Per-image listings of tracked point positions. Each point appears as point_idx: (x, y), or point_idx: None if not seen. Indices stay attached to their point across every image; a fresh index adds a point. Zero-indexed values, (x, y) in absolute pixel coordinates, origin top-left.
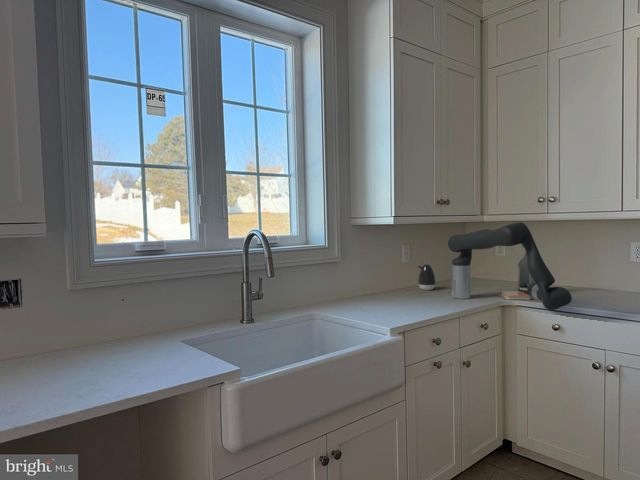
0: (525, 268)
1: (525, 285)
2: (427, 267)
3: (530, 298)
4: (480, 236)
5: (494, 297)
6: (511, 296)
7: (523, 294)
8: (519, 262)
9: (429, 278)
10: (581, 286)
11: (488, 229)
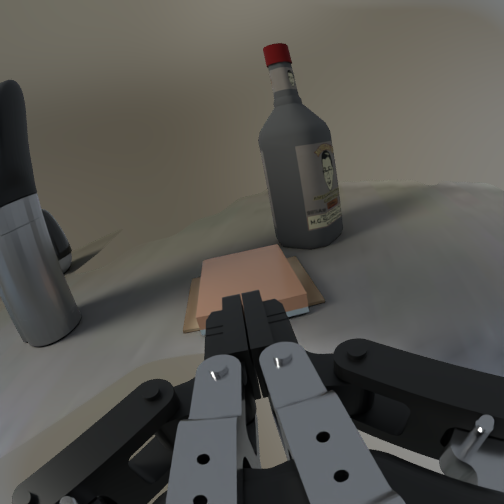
0: (282, 150)
1: (140, 437)
2: None
3: (313, 295)
4: None
5: (163, 308)
6: None
7: (277, 284)
8: (260, 133)
9: None
10: (412, 184)
11: None
